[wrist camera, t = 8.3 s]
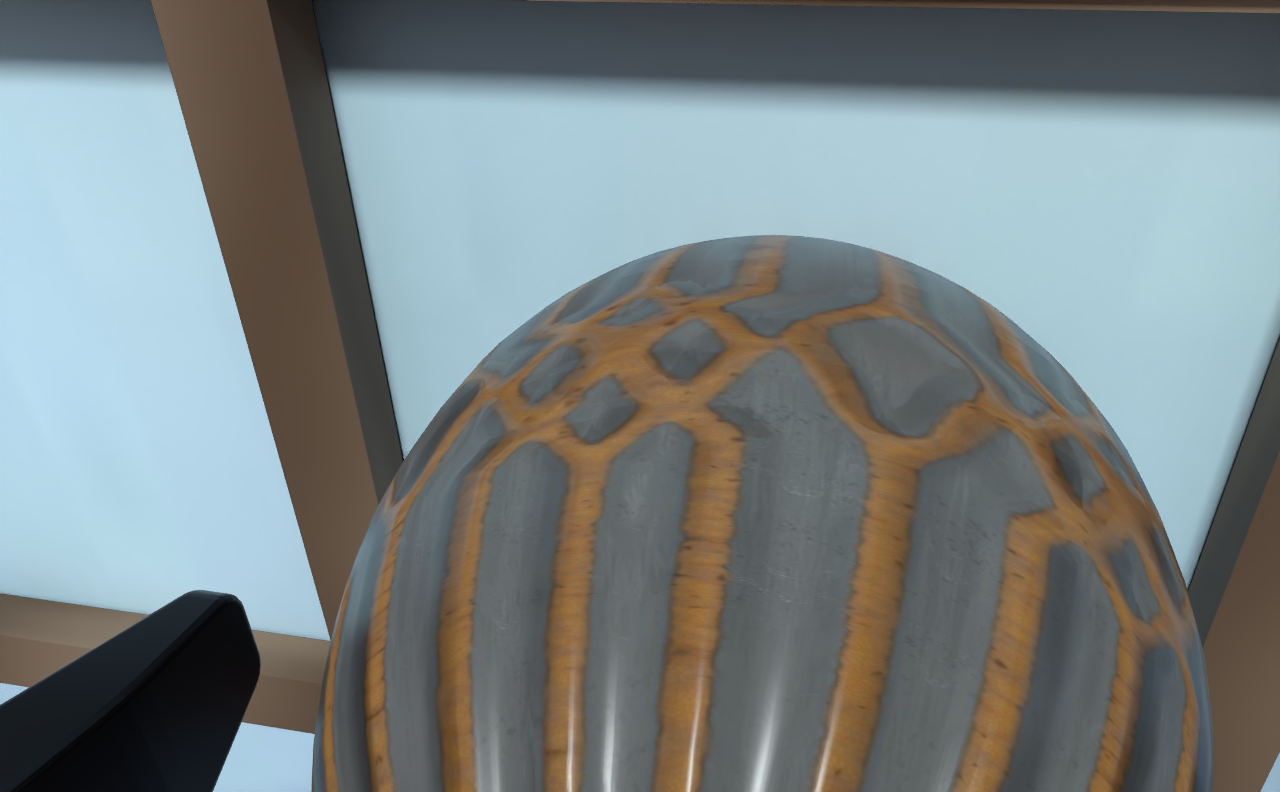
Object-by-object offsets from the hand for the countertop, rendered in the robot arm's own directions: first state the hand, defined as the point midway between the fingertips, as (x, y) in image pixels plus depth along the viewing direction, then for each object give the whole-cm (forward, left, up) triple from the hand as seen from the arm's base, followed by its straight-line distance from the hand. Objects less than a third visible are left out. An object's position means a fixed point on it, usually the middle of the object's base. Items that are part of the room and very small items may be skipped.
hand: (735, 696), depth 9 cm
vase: (0, 0, -4) cm, 4 cm away
